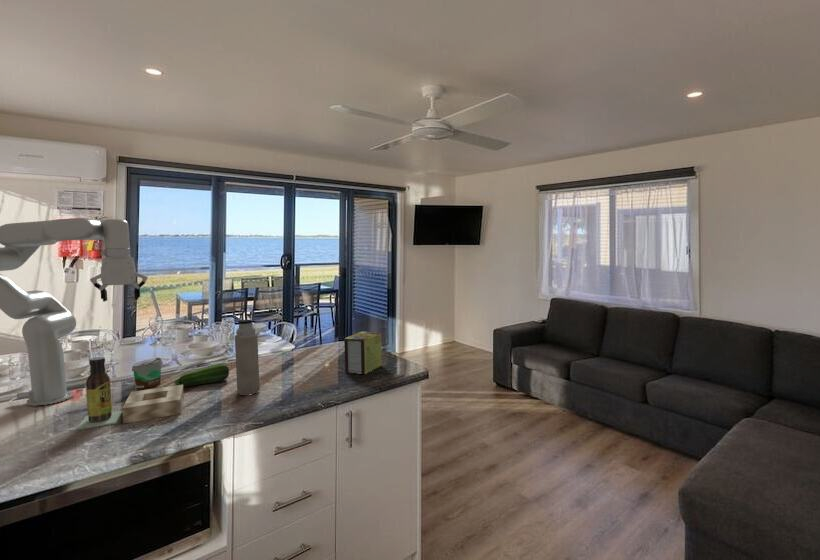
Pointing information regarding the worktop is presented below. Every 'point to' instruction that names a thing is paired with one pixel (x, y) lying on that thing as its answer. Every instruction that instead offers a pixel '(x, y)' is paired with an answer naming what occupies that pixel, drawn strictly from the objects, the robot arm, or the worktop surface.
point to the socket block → (153, 403)
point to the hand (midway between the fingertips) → (121, 300)
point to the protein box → (362, 352)
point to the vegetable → (204, 375)
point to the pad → (109, 421)
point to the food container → (148, 374)
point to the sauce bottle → (98, 391)
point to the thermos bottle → (247, 358)
